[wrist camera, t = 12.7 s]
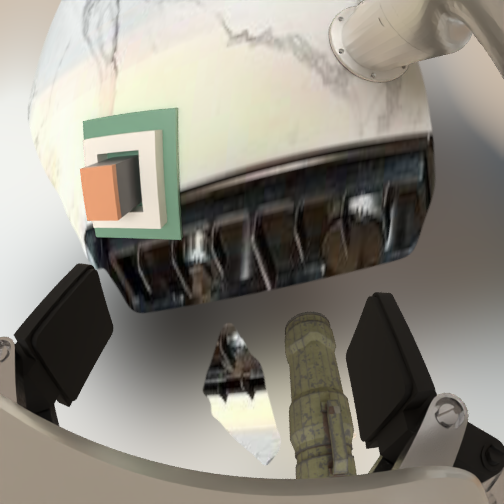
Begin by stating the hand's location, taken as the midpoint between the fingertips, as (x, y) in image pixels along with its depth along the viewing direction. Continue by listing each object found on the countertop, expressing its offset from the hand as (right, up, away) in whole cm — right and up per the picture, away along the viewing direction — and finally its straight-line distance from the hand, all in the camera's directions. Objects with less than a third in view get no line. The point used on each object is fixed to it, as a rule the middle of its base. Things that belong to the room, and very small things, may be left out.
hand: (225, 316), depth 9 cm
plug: (-18, +13, +30) cm, 37 cm away
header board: (-18, +14, +30) cm, 38 cm away
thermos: (+11, -13, +42) cm, 46 cm away
